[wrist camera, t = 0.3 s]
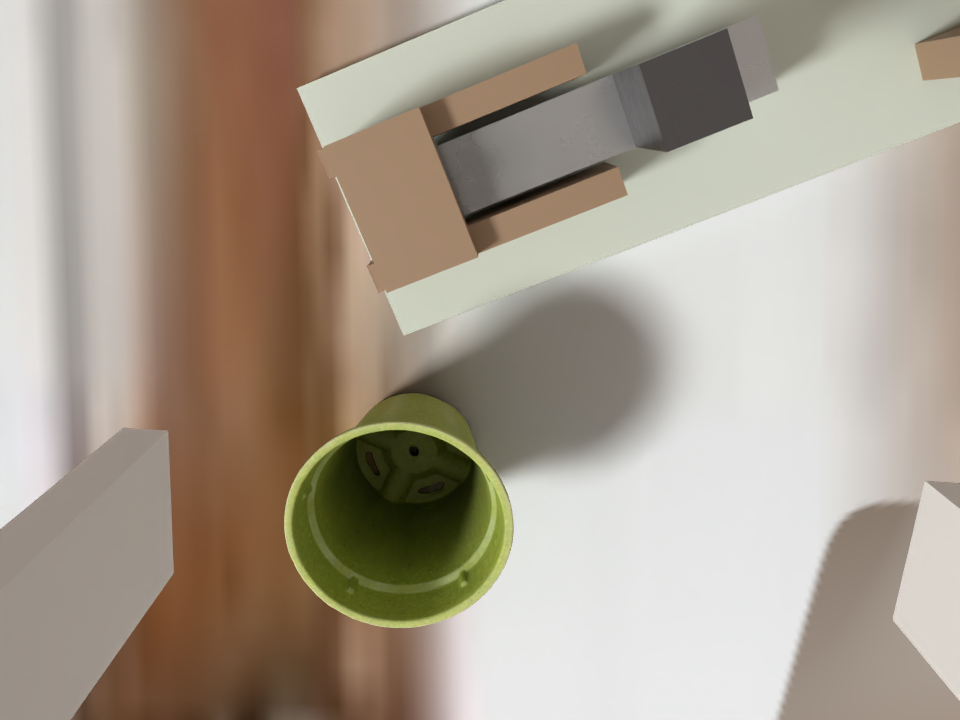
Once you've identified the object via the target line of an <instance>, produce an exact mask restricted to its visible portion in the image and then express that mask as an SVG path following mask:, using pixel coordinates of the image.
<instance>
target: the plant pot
mask: <svg viewBox="0 0 960 720" xmlns="http://www.w3.org/2000/svg"><path fill="white" fill-rule="evenodd" d="M413 446H415V447H417V448H418V450H419V454H418V455H417V456H412V455H411V454H410V452H409V450H410V448H411V447H413ZM368 452H370V453H372V457H373V459H374V462H375V464H376V466H377V469H378V470H379V471H380V474H379V475H375V474H374V473H373V471H372V469H371V467H370V466H369V465H368V463H367V460H366V454H367V453H368ZM438 482H443V483H444V485H443V487H442V488H441V489H439V490H437V491H435V492H431V493H426V494H424V493H419V491H418V490H419V489H420V488H424V487H428V486H432V485H435V484H436V483H438ZM284 528H285V538H286V543H287V547H288V550H289V553H290V556H291V558H292V560H293V562H294V564H295V566H296V569H297V570H298V572H299V574H300V575H301V577H302V578H303V580H304V581H305V582H306V584H307V585H308V586H309V587H310V588H311V589H312V591H313V592H314V593H315V594H316V595H317V596H318V597H319V598H320V599H322V600H323V601H324V602H325V603H327V604H328V605H329V606H331V607H332V608H334V609H336V610H338V611H340V612H341V613H343V614H345V615H347V616H349V617H351V618H353V619H356V620H358V621H361V622H364V623H368V624H372V625H376V626H381V627H391V628H411V627H420V626H425V625H429V624H433V623H437V622H440V621H443V620H445V619H448V618H450V617H453V616H455V615H457V614H459V613H460V612H462V611H464V610H466V609H467V608H469V607H470V606H471V605H473V604H474V603H475V602H476V601H478V600H479V599H480V598H481V597H482V596H483V595H484V594H485V593H486V592H487V591H488V590H489V589H490V588H491V587H492V585H493V584H494V583H495V581H496V580H497V578H498V577H499V575H500V574H501V572H502V570H503V569H504V567H505V564H506V562H507V559H508V557H509V554H510V550H511V546H512V541H513V515H512V509H511V504H510V500H509V497H508V494H507V491H506V489H505V487H504V485H503V483H502V481H501V479H500V477H499V476H498V474H497V472H496V471H495V470H494V468H493V467H492V466H491V464H490V463H489V462H488V461H487V460H486V459H485V458H484V457H483V456H482V455H481V454H480V453H479V452H478V451H477V448H476V444H475V441H474V438H473V435H472V432H471V430H470V427H469V425H468V424H467V422H466V420H465V419H464V418H463V416H462V415H461V414H460V413H459V412H458V411H457V410H456V409H455V408H454V407H453V406H451V405H449V404H447V403H445V402H443V401H441V400H439V399H437V398H434V397H431V396H428V395H426V394H420V393H406V394H400V395H396V396H392V397H390V398H387V399H385V400H384V401H382V402H380V403H379V404H377V405H376V406H374V407H373V408H372V409H371V410H370V411H369V412H368V413H367V414H366V415H365V417H364V418H363V419H362V420H361V421H360V422H359V423H358V425H357V426H356V427H355V428H352V429H349V430H347V431H345V432H343V433H341V434H340V435H338V436H336V437H334V438H333V439H331V440H330V441H328V442H327V443H326V444H324V445H323V446H322V447H321V448H319V449H318V450H317V451H316V452H315V453H314V454H313V455H312V456H311V457H310V459H309V460H308V461H307V462H306V463H305V465H304V466H303V467H302V469H301V470H300V471H299V473H298V475H297V477H296V479H295V480H294V482H293V484H292V487H291V489H290V492H289V495H288V498H287V502H286V508H285V518H284Z"/></svg>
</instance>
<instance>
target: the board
mask: <svg viewBox="0 0 960 720" xmlns="http://www.w3.org/2000/svg"><path fill="white" fill-rule="evenodd" d="M756 15H758V17H759V21H760V24H761V28H762V31H763V35H764V38H765V42H766V46H767V49H768V53H769V56H770V60H771V64H772V67H773V71H774V74H775V78H776V81H777V85H778V89H779V91H776V92H774V93H771V94H768V95H766V96H763V97H761V98H758V99H756V100H753V101H751V102H749V105H750V108H751V112H752V115H753V119H750V120H748V121H745V122H742V123H740V124H737V125H735V126H732V127H730V128H727V129H725V130H722V131H720V132H717V133H715V134H712V135H710V136H707V137H705V138H702V139H699V140H697V141H694V142H692V143H689V144H687V145H684V146H682V147H679V148H677V149H674V150H672V151H669V152H662V151H656V150H650V149H644V148H638V147H635V148H633V149H630V150H628V151H625V152H623V153H620V154H618V155H615V156H612V157H610V158H607V159H605V160H602V161H600V162H597V163H595V164H592V165H590V166H587V167H585V168H582V169H580V170H577V171H575V172H572V173H570V174H567V175H565V176H562V177H560V178H557V179H555V180H552V181H550V182H547V183H545V184H542V185H540V186H537V187H534V188H532V189H529V190H527V191H524V192H522V193H519V194H517V195H514V196H512V197H509V198H507V199H504V200H502V201H499V202H497V203H494V204H492V205H489V206H487V207H484V208H482V209H479V210H477V211H474V212H472V213H469V214H467V215H464V216H463V213H462V211H461V208H460V206H459V203H458V200H457V198H456V195H455V193H454V190H453V188H452V185H451V183H450V180H449V178H448V175H447V173H446V170H445V168H444V165H443V163H442V160H441V157H440V155H439V152H438V150H437V147H436V146H438V145H440V144H443V143H445V142H448V141H450V140H453V139H455V138H457V137H460V136H462V135H465V134H467V133H470V132H472V131H475V130H477V129H479V128H482V127H484V126H487V125H489V124H492V123H494V122H497V121H499V120H501V119H504V118H506V117H509V116H511V115H514V114H516V113H519V112H521V111H523V110H526V109H528V108H531V107H533V106H536V105H538V104H541V103H543V102H545V101H548V100H550V99H553V98H555V97H558V96H560V95H563V94H565V93H567V92H570V91H572V90H575V89H577V88H580V87H582V86H585V85H587V84H589V83H592V82H594V81H597V80H599V79H602V78H604V77H607V76H609V75H612V74H614V73H616V72H619V71H621V70H624V69H626V68H629V67H631V66H634V65H636V64H638V63H641V62H643V61H646V60H648V59H651V58H653V57H656V56H658V55H660V54H663V53H665V52H668V51H670V50H673V49H675V48H678V47H680V46H682V45H685V44H687V43H690V42H692V41H695V40H697V39H700V38H702V37H704V36H707V35H709V34H712V33H714V32H717V31H719V30H722V29H724V28H726V27H729V26H731V25H734V24H736V23H739V22H741V21H744V20H746V19H749V18H751V17H754V16H756ZM297 90H298V92H299V94H300V97H301V99H302V101H303V104H304V106H305V108H306V111H307V113H308V115H309V118H310V120H311V122H312V124H313V127H314V129H315V131H316V134H317V136H318V138H319V141H320V143H321V145H322V149H319V150H317V152H318V154H319V157H320V159H321V161H322V164H323V166H324V168H325V171H326V173H327V175H328V177H329V179H331V178H334V177H335V178H336V180H337V182H338V185H339V187H340V189H341V192H342V194H343V196H344V199H345V201H346V203H347V205H348V208H349V210H350V212H351V215H352V217H353V219H354V222H355V224H356V226H357V229H358V231H359V233H360V236H361V238H362V240H363V243H364V245H365V247H366V249H367V252H368V254H369V256H370V259H371V262H370V263H369V264H368V266H367V267H368V270H369V272H370V274H371V276H372V279H373V281H374V283H375V286H376V288H377V290H378V293H379V292H381V291H385V293H386V296H387V298H388V300H389V303H390V305H391V307H392V310H393V312H394V314H395V317H396V319H397V321H398V324H399V326H400V328H401V330H402V333H403V335H407V334H409V333H412V332H414V331H417V330H420V329H422V328H425V327H427V326H430V325H433V324H435V323H438V322H440V321H443V320H446V319H448V318H451V317H453V316H456V315H459V314H461V313H464V312H466V311H469V310H472V309H474V308H477V307H479V306H482V305H485V304H487V303H490V302H492V301H495V300H498V299H500V298H503V297H506V296H508V295H511V294H513V293H516V292H519V291H521V290H524V289H526V288H529V287H532V286H534V285H537V284H539V283H542V282H545V281H547V280H550V279H552V278H555V277H558V276H560V275H563V274H565V273H568V272H571V271H573V270H576V269H578V268H581V267H584V266H586V265H589V264H592V263H594V262H597V261H599V260H602V259H605V258H607V257H610V256H612V255H615V254H618V253H620V252H623V251H625V250H628V249H631V248H633V247H636V246H638V245H641V244H644V243H646V242H649V241H651V240H654V239H657V238H659V237H662V236H664V235H667V234H670V233H672V232H675V231H678V230H680V229H683V228H685V227H688V226H691V225H693V224H696V223H698V222H701V221H704V220H706V219H709V218H711V217H714V216H717V215H719V214H722V213H724V212H727V211H730V210H732V209H735V208H737V207H740V206H743V205H745V204H748V203H750V202H753V201H756V200H758V199H761V198H763V197H766V196H769V195H771V194H774V193H777V192H779V191H782V190H784V189H787V188H790V187H792V186H795V185H797V184H800V183H803V182H805V181H808V180H810V179H813V178H816V177H818V176H821V175H823V174H826V173H829V172H831V171H834V170H836V169H839V168H842V167H844V166H847V165H849V164H852V163H855V162H857V161H860V160H863V159H865V158H868V157H870V156H873V155H876V154H878V153H881V152H883V151H886V150H889V149H891V148H894V147H896V146H899V145H902V144H904V143H907V142H909V141H912V140H915V139H917V138H920V137H922V136H925V135H928V134H930V133H933V132H935V131H938V130H941V129H943V128H946V127H949V126H951V125H954V124H956V123H959V122H960V0H504V1H501V2H499V3H497V4H494V5H492V6H489V7H487V8H485V9H482V10H480V11H478V12H475V13H473V14H471V15H468V16H466V17H464V18H461V19H459V20H457V21H454V22H452V23H449V24H447V25H445V26H442V27H440V28H438V29H435V30H433V31H431V32H428V33H426V34H424V35H421V36H419V37H417V38H414V39H412V40H410V41H407V42H405V43H402V44H400V45H398V46H395V47H393V48H391V49H388V50H386V51H384V52H381V53H379V54H377V55H374V56H372V57H370V58H367V59H365V60H363V61H360V62H358V63H355V64H353V65H351V66H348V67H346V68H344V69H341V70H339V71H337V72H334V73H332V74H330V75H327V76H325V77H323V78H320V79H318V80H315V81H313V82H311V83H308V84H306V85H304V86H301V87H299V88H297Z"/></svg>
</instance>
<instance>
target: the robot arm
mask: <svg viewBox="0 0 960 720" xmlns="http://www.w3.org/2000/svg"><path fill="white" fill-rule="evenodd" d="M173 573H174V571H173V545H172V519H171V493H170V467H169V441H168V431H165V430H149V429H134V428H123V429H121V430H120V431H119V432H118V433H117V434H115V435H114V436H113V437H112V438H111V439H109V440H108V441H107V442H106V443H104V444H103V445H102V446H101V447H100V448H98V449H97V450H96V451H95V452H94V453H92V454H91V455H90V456H89V457H87V458H86V459H85V460H84V461H83V462H81V463H80V464H79V465H78V466H77V467H75V468H74V469H73V470H72V471H71V472H69V473H68V474H67V475H66V476H64V477H63V478H62V479H61V480H60V481H58V482H57V483H56V484H55V485H54V486H52V487H51V488H50V489H49V490H48V491H46V492H45V493H44V494H43V495H41V496H40V497H39V498H38V499H37V500H35V501H34V502H33V503H32V504H31V505H29V506H28V507H27V508H26V509H25V510H23V511H22V512H21V513H20V514H18V515H17V516H16V517H15V518H14V519H12V520H11V521H10V522H9V523H8V524H6V525H5V526H4V527H3V528H1V529H0V720H71V718H72V717H73V715H74V714H75V713H76V711H77V710H78V708H79V707H80V705H81V704H82V703H83V701H84V700H85V698H86V697H87V695H88V694H89V693H90V691H91V690H92V688H93V687H94V686H95V684H96V683H97V681H98V680H99V678H100V677H101V676H102V674H103V673H104V671H105V670H106V668H107V667H108V666H109V664H110V663H111V661H112V660H113V659H114V657H115V656H116V654H117V653H118V651H119V650H120V649H121V647H122V646H123V644H124V643H125V642H126V640H127V639H128V637H129V636H130V634H131V633H132V632H133V630H134V629H135V627H136V626H137V624H138V623H139V622H140V620H141V619H142V617H143V616H144V615H145V613H146V612H147V610H148V609H149V607H150V606H151V605H152V603H153V602H154V600H155V599H156V597H157V596H158V595H159V593H160V592H161V590H162V589H163V588H164V586H165V585H166V583H167V582H168V580H169V579H170V578H171V576H172V575H173ZM893 621H894V622H895V623H896V624H897V625H898V627H899V628H900V629H901V630H902V632H903V633H904V634H905V635H906V636H907V638H908V639H909V640H910V641H911V642H912V644H913V645H914V646H915V647H916V649H917V650H918V651H919V652H920V653H921V655H922V656H923V657H924V658H925V659H926V660H927V662H928V663H929V664H930V666H931V667H932V668H933V669H934V670H935V672H936V673H937V674H938V675H939V676H940V678H941V679H942V680H943V681H944V683H945V684H946V685H947V686H948V687H949V689H950V690H951V691H952V692H953V693H954V695H955V696H956V697H957V698H958V700H959V701H960V483H950V482H935V481H925V483H924V488H923V492H922V496H921V500H920V505H919V509H918V513H917V517H916V522H915V526H914V530H913V535H912V539H911V543H910V548H909V552H908V556H907V560H906V565H905V569H904V573H903V577H902V582H901V586H900V590H899V595H898V599H897V603H896V607H895V612H894V616H893Z"/></svg>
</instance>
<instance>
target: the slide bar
mask: <svg viewBox="0 0 960 720" xmlns="http://www.w3.org/2000/svg"><path fill="white" fill-rule="evenodd" d="M776 91H779V89H778V85H777V81H776V78H775V74H774V71H773V67H772V64H771V60H770V56H769V53H768V49H767V46H766V42H765V38H764V35H763V31H762V28H761V24H760V21H759V17H758V15H756V16H754V17H751V18H749V19H746V20H744V21H741V22H739V23H736V24H734V25H731V26H729V27H726V28H724V29H722V30H719V31H717V32H714V33H712V34H709V35H707V36H704V37H702V38H700V39H697V40H695V41H692V42H690V43H687V44H685V45H682V46H680V47H678V48H675V49H673V50H670V51H668V52H665V53H663V54H660V55H658V56H656V57H653V58H651V59H648V60H646V61H643V62H641V63H638V64H636V65H634V66H631V67H629V68H626V69H624V70H621V71H619V72H616V73H614V74H612V75H609V76H607V77H604V78H602V79H599V80H597V81H594V82H592V83H589V84H587V85H585V86H582V87H580V88H577V89H575V90H572V91H570V92H567V93H565V94H563V95H560V96H558V97H555V98H553V99H550V100H548V101H545V102H543V103H541V104H538V105H536V106H533V107H531V108H528V109H526V110H523V111H521V112H519V113H516V114H514V115H511V116H509V117H506V118H504V119H501V120H499V121H497V122H494V123H492V124H489V125H487V126H484V127H482V128H479V129H477V130H475V131H472V132H470V133H467V134H465V135H462V136H460V137H457V138H455V139H453V140H450V141H448V142H445V143H443V144H440V145H438V146H436V147H437V150H438V152H439V155H440V157H441V160H442V163H443V165H444V168H445V170H446V173H447V175H448V178H449V180H450V183H451V185H452V188H453V190H454V193H455V195H456V198H457V200H458V203H459V206H460V208H461V211H462V213H463V216H464V215H467V214H469V213H472V212H474V211H477V210H479V209H482V208H484V207H487V206H489V205H492V204H494V203H497V202H499V201H502V200H504V199H507V198H509V197H512V196H514V195H517V194H519V193H522V192H524V191H527V190H529V189H532V188H534V187H537V186H540V185H542V184H545V183H547V182H550V181H552V180H555V179H557V178H560V177H562V176H565V175H567V174H570V173H572V172H575V171H577V170H580V169H582V168H585V167H587V166H590V165H592V164H595V163H597V162H600V161H602V160H605V159H607V158H610V157H612V156H615V155H618V154H620V153H623V152H625V151H628V150H630V149H633V148H635V147H638V148H644V149H650V150H656V151H662V152H669V151H672V150H674V149H677V148H679V147H682V146H684V145H687V144H689V143H692V142H694V141H697V140H699V139H702V138H705V137H707V136H710V135H712V134H715V133H717V132H720V131H722V130H725V129H727V128H730V127H732V126H735V125H737V124H740V123H742V122H745V121H748V120H750V119H753V115H752V112H751V108H750V105H749V102H751V101H753V100H756V99H758V98H761V97H763V96H766V95H768V94H771V93H774V92H776Z"/></svg>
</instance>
